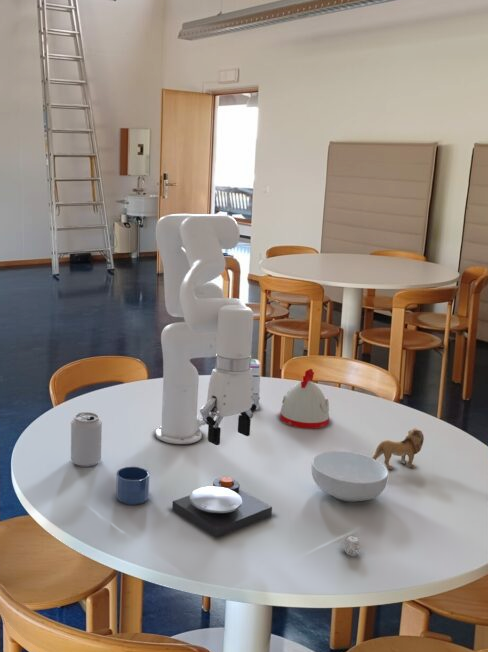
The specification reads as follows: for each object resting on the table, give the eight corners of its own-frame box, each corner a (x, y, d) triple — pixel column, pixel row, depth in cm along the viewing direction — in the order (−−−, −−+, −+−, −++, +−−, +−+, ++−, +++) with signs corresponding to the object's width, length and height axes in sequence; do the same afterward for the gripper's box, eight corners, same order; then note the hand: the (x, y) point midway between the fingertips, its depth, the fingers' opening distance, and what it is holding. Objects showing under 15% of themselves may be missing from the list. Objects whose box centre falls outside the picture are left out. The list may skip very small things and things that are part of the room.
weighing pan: (216, 484, 159) (216, 482, 158) (252, 503, 150) (252, 501, 150) (179, 497, 152) (179, 495, 152) (214, 518, 143) (214, 516, 143)
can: (96, 469, 172) (97, 422, 170) (66, 466, 173) (67, 419, 171) (104, 457, 179) (105, 412, 177) (75, 453, 181) (76, 409, 178)
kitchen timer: (334, 417, 211) (339, 369, 208) (319, 432, 200) (323, 381, 197) (290, 408, 219) (293, 361, 215) (272, 421, 207) (276, 371, 204)
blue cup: (135, 488, 163) (136, 463, 162) (155, 500, 157) (156, 475, 156) (109, 496, 159) (110, 471, 157) (128, 509, 153) (129, 483, 152)
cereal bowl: (344, 518, 152) (347, 487, 151) (294, 485, 167) (296, 457, 165) (402, 502, 160) (405, 473, 158) (349, 473, 174) (351, 446, 173)
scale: (225, 489, 164) (226, 475, 163) (272, 515, 153) (273, 500, 152) (171, 509, 154) (171, 494, 153) (216, 538, 143) (217, 522, 142)
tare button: (226, 481, 161) (226, 475, 161) (235, 485, 159) (235, 480, 159) (217, 484, 159) (217, 478, 159) (226, 488, 157) (226, 483, 157)
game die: (341, 555, 138) (342, 541, 137) (343, 546, 141) (344, 532, 141) (360, 559, 137) (361, 545, 136) (361, 550, 140) (362, 536, 139)
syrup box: (258, 410, 216) (262, 364, 213) (239, 409, 216) (242, 363, 213) (256, 403, 222) (259, 358, 219) (237, 403, 222) (240, 358, 219)
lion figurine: (411, 457, 184) (415, 425, 183) (426, 466, 180) (430, 432, 178) (364, 464, 179) (368, 430, 178) (378, 473, 174) (381, 438, 173)
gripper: (248, 353, 161) (244, 425, 165) (191, 364, 151) (187, 441, 154) (273, 360, 156) (268, 435, 159) (215, 373, 145) (211, 453, 149)
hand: (228, 438), depth 157 cm, fingers open, 8 cm apart
